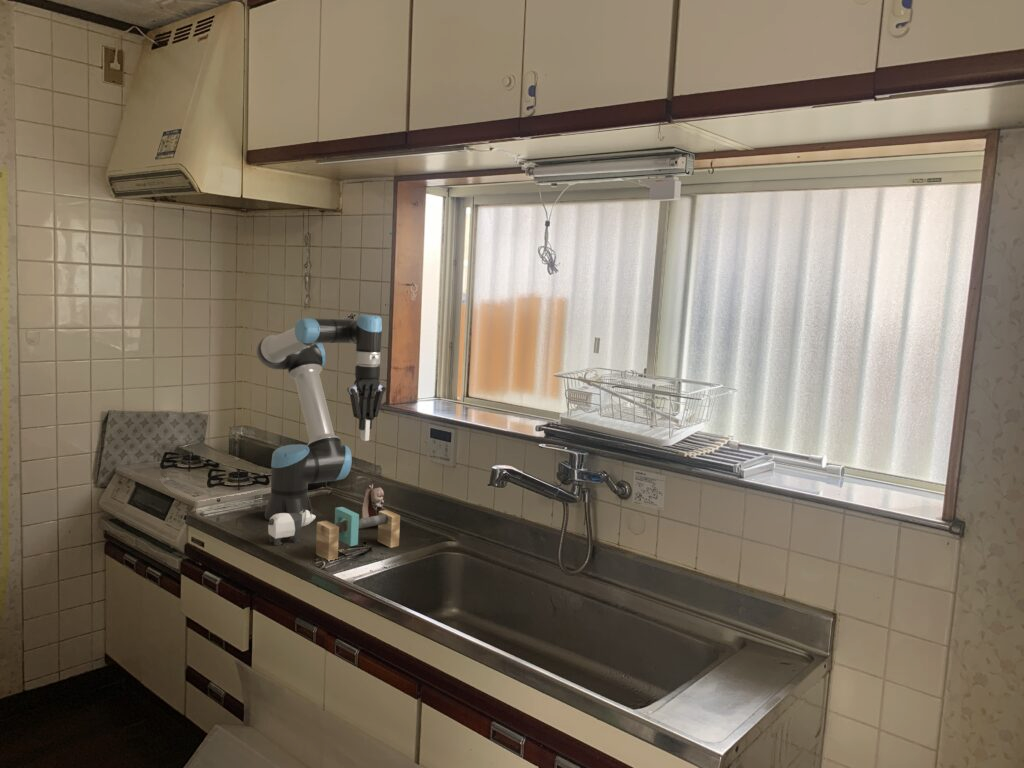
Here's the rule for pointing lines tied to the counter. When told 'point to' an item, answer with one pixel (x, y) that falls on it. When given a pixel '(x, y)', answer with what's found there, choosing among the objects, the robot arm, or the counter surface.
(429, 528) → the counter surface
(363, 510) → the toy
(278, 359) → the robot arm
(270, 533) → the giant panda
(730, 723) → the counter surface
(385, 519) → the pipe stand
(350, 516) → the collar
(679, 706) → the counter surface
